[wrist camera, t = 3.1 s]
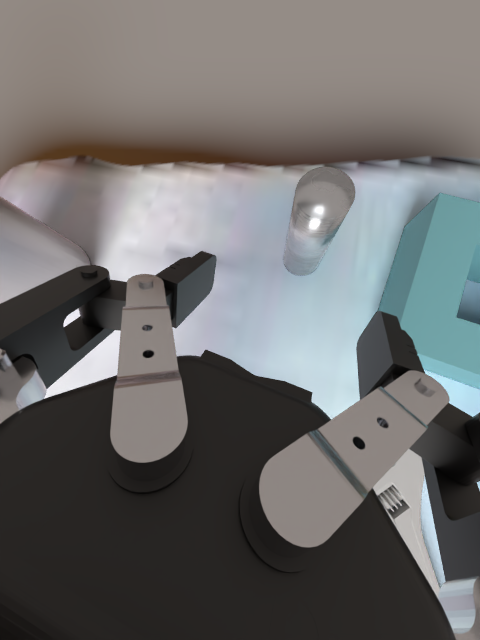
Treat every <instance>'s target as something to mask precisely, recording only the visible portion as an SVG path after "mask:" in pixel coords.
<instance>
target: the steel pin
mask: <svg viewBox="0 0 480 640" xmlns="http://www.w3.org/2000/svg"><path fill="white" fill-rule="evenodd" d="M354 198H355V187H354V184H353V182H352V180H351V179H350V177H349V176H348V175H347V174H346V173H344V172H343V171H341V170H339V169H336V168H332V167H320V168H316V169H313V170H311V171H309V172H307V173H306V174H305V175H304V176H303V177H302V178H301V179H300V180H299V182H298V184H297V187H296V191H295V197H294V202H293V208H292V213H291V219H290V225H289V230H288V236H287V241H286V247H285V252H284V259H283V260H284V265H285V267H286V268H287V270H288V271H289V272H291V273H292V274H294V275H298V276H305V275H308V274H310V273H312V272H313V271H315V269H316V268H317V267H318V265H319V263H320V261H321V259H322V258H323V256H324V254H325V252H326V250H327V249H328V247H329V245H330V243H331V241H332V240H333V238H334V236H335V234H336V232H337V231H338V229H339V227H340V225H341V223H342V222H343V220H344V218H345V216H346V214H347V212H348V211H349V209H350V207H351V205H352V203H353V201H354Z"/></svg>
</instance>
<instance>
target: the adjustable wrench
mask: <svg viewBox="0 0 480 640" xmlns="http://www.w3.org/2000/svg"><path fill="white" fill-rule="evenodd" d="M424 474H425V473H424V468H423V463H422V458H421V457H420V456H419V455H417V454H416V453H414V452H413V451H411V450H410V449H408V450H407V451H406V452H405V453H404V454H403V456H402V457H401V458H400V459H399V460H398V461H397V462H396V463H395V464H394V465H393V466H392V467H391V468H390V469H389V471H388V472H387V473H386V474H385V475H384V476H383V477H382V478H381V479H380V480H379V481H378V482H377V483H376V485H375V486H374V487H373V489H374V491H375V493H376V494H377V496H378V498H379V499H380V501H381V503H382V504H383V506H384V508H385V509H386V511H387V513H388V515H389V516H390V518H391V520H392V521H393V523H394V525H395V526H396V528H397V530H398V531H399V533H400V535H401V537H402V538H403V540H404V542H405V543H406V545H407V547H408V548H409V550H410V552H411V553H412V555H413V557H414V558H415V560H416V562H417V564H418V565H419V567H420V569H421V570H422V572H423V574H424V575H425V577H426V579H427V580H428V582H429V584H430V585H431V587H432V589H433V591H434V592H435V594H436V596H437V598H438V597H439V591H440V588H439V585H438V582H437V579H436V576H435V573H434V570H433V567H432V564H431V561H430V558H429V555H428V552H427V549H426V546H425V543H424V539H423V535H422V531H421V520H420V515H421V495H422V487H423V481H424ZM400 500H402V501H400ZM396 503H398V504H396ZM392 506H394V507H392ZM388 509H390V510H388Z"/></svg>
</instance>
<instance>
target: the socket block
mask: <svg viewBox="0 0 480 640" xmlns="http://www.w3.org/2000/svg"><path fill="white" fill-rule="evenodd" d="M466 280H471V281H474V282H478V283H480V203H479V202H475V201H471V200H467V199H463V198H459V197H455V196H451V195H447V194H443V193H439V194H438V195H437V196H436V197H435V198H434V199H433V200H432V201H431V202H430V203H429V204H428V205H427V206H426V207H425V208H424V209H423V210H422V211H420V212H419V213H418V214H417V215H416V216H415V217H414V218H413V219H412V220H411V221H410V222H409V223H408V224H407V225H406V226H405V227H404V231H403V234H402V237H401V240H400V243H399V246H398V249H397V253H396V256H395V259H394V262H393V265H392V268H391V271H390V275H389V278H388V281H387V284H386V287H385V290H384V293H383V297H382V300H381V303H380V306H379V309H378V311H382V312H385V313H388V314H391V315H394V316H397V317H398V320H399V323H400V326H401V329H402V330H405V331H406V332H407V334H408V335H409V336H410V337H411V338H412V340H413V342H414V345H415V349H416V351H417V353H418V354H417V355H418V356H419V359H420V361H421V364H422V367H423V369H424V370H427V371H430V372H433V373H436V374H438V375H441V376H444V377H447V378H450V379H452V380H455V381H458V382H461V383H464V384H466V385H469V386H472V387H475V388H477V389H480V325H479V324H476V323H473V322H470V321H466V320H463V319H460V318H457V317H456V316H457V313H458V309H459V305H460V302H461V298H462V294H463V291H464V287H465V283H466Z"/></svg>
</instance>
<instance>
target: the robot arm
mask: <svg viewBox="0 0 480 640" xmlns="http://www.w3.org/2000/svg"><path fill="white" fill-rule="evenodd" d="M215 267H216V256H215V255H212V254H209V253H206V252H203V251H200V252H199V253H198V254H196V255H195V256H193V257H192V258H191V257H187V258H183V259H180V260H178V261H177V262H175V263H174V264H172V265H171V266H170V267H168V268H166V269H164V270H163V271H161V272H160V273H158V274H157V275H155V276H154V275H149V274H140V275H136V276H133V277H131V278H130V279H128V281H127V282H122V281H116V280H110V276H109V271H108V270H107V269H106V268H104V267H101V266H96V265H90V261H89V258H88V256H87V255H86V253H85V251H84V250H83V249H82V248H81V247H80V246H78V245H77V244H75V243H73V242H72V241H70V240H69V239H67V238H65V237H64V236H62V235H61V234H59V233H58V232H56V231H54V230H53V229H51V228H50V227H48V226H47V225H45V224H44V223H42V222H40V221H39V220H37V219H36V218H34V217H32V216H31V215H29V214H28V213H26V212H24V211H23V210H21V209H20V208H18V207H16V206H15V205H13V204H12V203H10V202H8V201H7V200H5V199H4V198H2V197H0V640H480V491H479V488H478V486H477V483H476V482H478V481H480V413H478V414H477V415H475V416H474V417H472V416H470V415H468V414H467V413H465V412H463V411H461V410H460V409H458V408H456V407H454V406H453V405H451V404H450V403H448V402H449V395H448V393H447V392H446V390H445V389H444V388H443V386H442V385H441V384H440V383H438V382H437V381H436V380H435V379H433V378H432V377H430V376H428V375H426V374H425V372H424V369H423V367H422V364H421V361H420V359H419V356H418V355H417V354H418V353H417V351H416V349H415V345H414V342H413V340H412V338H411V337H410V336H409V335H408V334H407V332H406V331H405V330H402V329H401V326H400V323H399V320H398V317H397V316H394V315H391V314H388V313H385V312H382V311H377V312H376V313H375V315H374V316H373V318H372V319H371V321H370V322H369V324H368V325H367V327H366V328H365V330H364V331H363V333H362V334H361V336H360V338H359V340H358V343H357V363H358V378H359V392H360V401H358V402H357V403H355V404H354V405H352V406H351V407H349V408H348V409H346V410H345V411H344V412H342V413H341V414H339V415H338V416H336V417H335V418H333V419H332V420H331V419H330V418H329V417H328V416H327V415H326V413H324V412H323V411H322V410H321V409H320V408H319V407H318V406H316V405H315V404H314V403H312V402H311V398H312V392H310V391H307V390H305V389H302V388H300V387H298V386H295V385H293V384H290V383H288V382H285V381H280V380H275V379H270V378H264V377H259V376H255V375H253V374H251V373H250V372H248V371H247V370H245V369H244V368H242V367H241V366H239V365H238V364H236V363H235V362H233V361H232V360H230V359H228V358H225V357H223V356H220V355H218V354H215V353H213V352H210V351H208V350H205V351H204V353H203V354H202V356H201V357H200V356H176V350H175V343H174V337H173V330H172V327H174V328H177V327H178V326H179V325H180V324H181V323H182V322H183V321H184V320H185V318H186V317H187V316H188V315H189V314H190V313H191V312H192V311H193V310H194V309H195V308H196V307H197V306H198V305H199V304H200V303H201V302H202V301H203V300H204V299H205V298H206V296H207V295H208V294H209V293H210V291H211V289H212V286H213V281H214V274H215ZM78 308H79V311H80V315H81V316H80V317H79V318H77V319H76V320H74V321H73V322H71V323H70V324H68V325H67V326H66V327H63V323H64V320H65V318H66V317H67V316H68V315H69V314H70V313H72V312H73V311H75V310H76V309H78ZM114 330H121V336H120V349H119V361H118V374H117V375H116V376H113V377H110V378H107V379H104V380H101V381H98V382H95V383H92V384H89V385H85V386H82V387H79V388H76V389H73V390H70V391H67V392H64V393H61V394H58V395H55V396H52V397H48V398H45V399H44V397H45V395H46V389H47V388H48V387H50V386H51V385H52V384H53V383H54V382H55V381H57V380H58V379H59V378H60V377H61V376H62V375H64V374H65V373H66V372H67V371H68V370H69V369H70V368H72V367H73V366H74V365H75V364H76V363H77V362H79V361H80V360H81V359H82V358H83V357H84V356H85V355H87V354H88V353H89V352H90V351H91V350H92V349H94V348H95V347H96V346H97V345H98V344H99V343H101V342H102V341H103V340H104V339H105V338H106V337H107V336H109V335H110V334H111V333H112V332H113V331H114ZM408 449H410V450H411V451H413V452H414V453H416V454H417V455H419V456H420V457H421V458H422V463H423V468H424V473H425V478H426V484H427V489H428V494H429V499H430V504H431V509H432V514H433V519H434V524H435V529H436V534H437V539H438V545H439V550H440V555H441V560H442V565H443V570H444V575H445V580H446V582H445V583H444V584H442V586H441V588H440V591H439V597H438V598H437V596H436V594H435V592H434V591H433V589H432V587H431V585H430V584H429V582H428V580H427V579H426V577H425V575H424V574H423V572H422V570H421V569H420V567H419V565H418V564H417V562H416V560H415V558H414V557H413V555H412V553H411V552H410V550H409V548H408V547H407V545H406V543H405V542H404V540H403V538H402V537H401V535H400V533H399V531H398V530H397V528H396V526H395V525H394V523H393V521H392V520H391V518H390V516H389V515H388V513H387V511H386V509H385V508H384V506H383V504H382V503H381V501H380V499H379V498H378V496H377V494H376V493H375V491H374V489H373V487H374V486H375V485H376V483H377V482H378V481H379V480H380V479H381V478H382V477H383V476H384V475H385V474H386V473H387V472H388V471H389V469H390V468H391V467H392V466H393V465H394V464H395V463H396V462H397V461H398V460H399V459H400V458H401V457H402V456H403V454H404V453H405V452H406V451H407V450H408Z"/></svg>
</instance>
